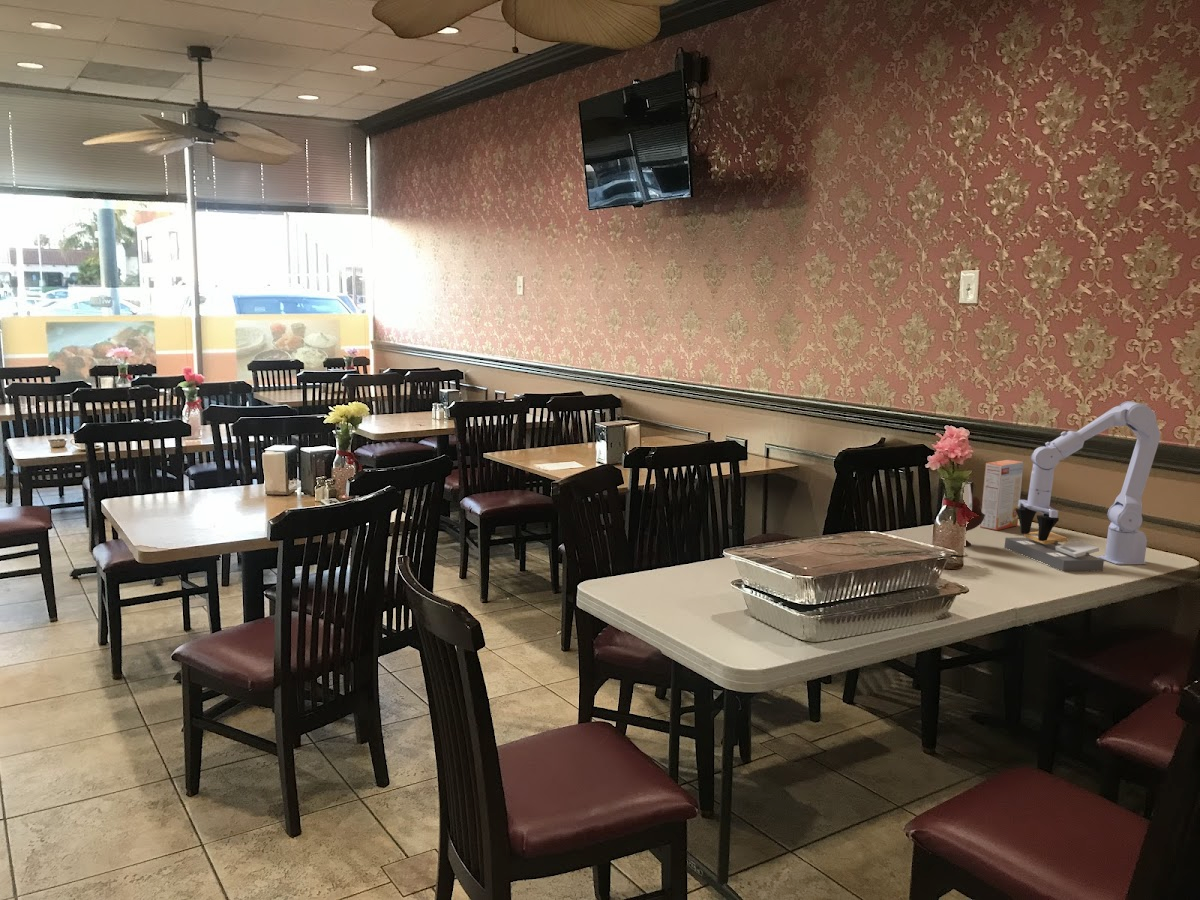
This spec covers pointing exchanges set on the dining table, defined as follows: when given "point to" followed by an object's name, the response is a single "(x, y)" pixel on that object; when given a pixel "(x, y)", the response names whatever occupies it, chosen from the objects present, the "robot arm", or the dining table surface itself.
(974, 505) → the ice cream bowl
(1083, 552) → the rocker
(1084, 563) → the rocker switch panel
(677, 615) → the dining table surface
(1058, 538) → the plate
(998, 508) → the cracker box
